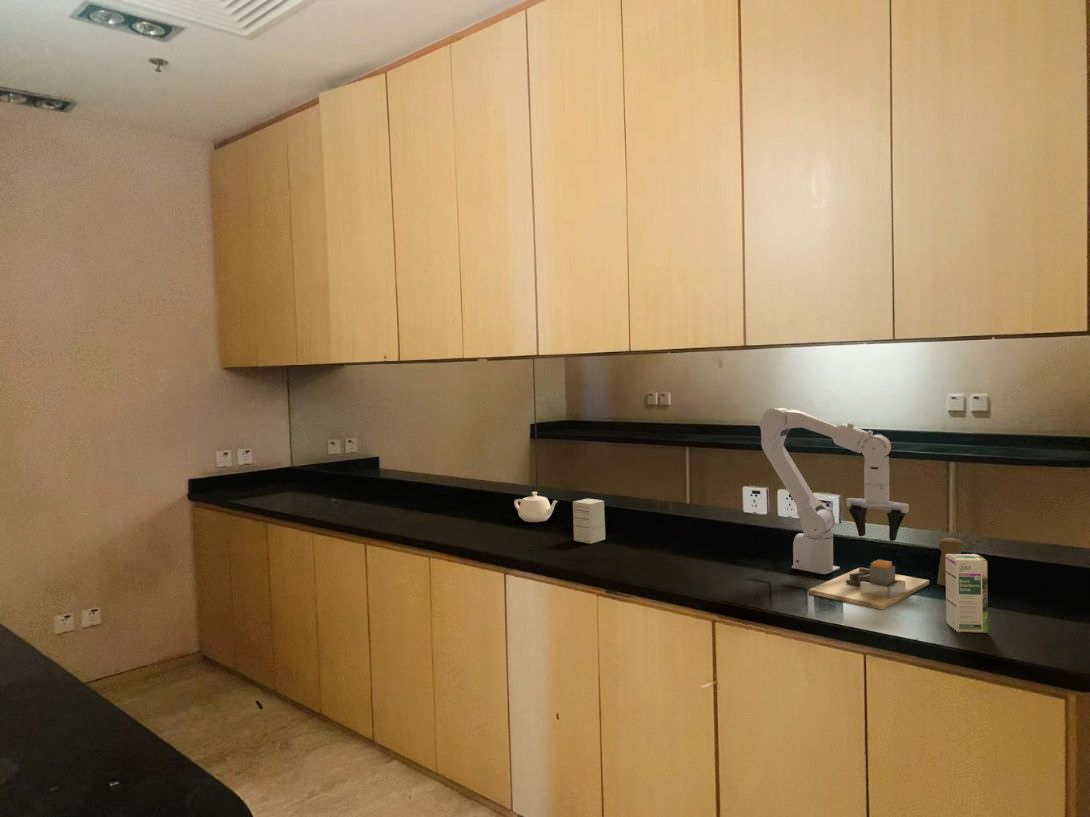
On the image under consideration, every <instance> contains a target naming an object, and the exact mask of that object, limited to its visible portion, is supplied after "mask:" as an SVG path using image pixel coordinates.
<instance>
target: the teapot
mask: <svg viewBox="0 0 1090 817" xmlns="http://www.w3.org/2000/svg"><path fill="white" fill-rule="evenodd" d="M531 494H532V495H530V496H527V497H523V498H522V499H521V498H518V499H514V502H513V503H514V506H515V509H516V510H517V511H518V512H517V514H518V516H519V518H520V519H522V520H523V521H524V522H528V523H538V522H539V523H540V522H546V521H548V519H549V518H550V517H551V516H552V514H553V511H554V509H555V505H556V504H557V503H558V500H553V501H552V503H551V504H550V501H549V499H548V498H547V497H546V496H541V495H537V494H538V492H537V491H531Z"/></svg>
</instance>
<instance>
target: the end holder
mask: <svg viewBox="0 0 1090 817" xmlns="http://www.w3.org/2000/svg"><path fill="white" fill-rule="evenodd" d="M905 592H906V581H901V580H896V579H895V584H893V585H891V586H884V585H879V584H874V583H868V582H863V581H862V582H860V593H863V594H867V595H872V596H877V597H882V598H887V599H893V598H895V597H897V596H899V595H901V594H903V593H905Z"/></svg>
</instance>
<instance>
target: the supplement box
mask: <svg viewBox="0 0 1090 817" xmlns="http://www.w3.org/2000/svg"><path fill="white" fill-rule="evenodd" d="M572 514H573V515H572V516H573V520H572V521H573V541H575V542H580V543H585V544H594V543H598V542H601V541H604V540H606V521H605V520H606V519H605V518H606V517H605V515H606V514H605V500H601V499H594V498H584V499H579V500H575V501H572Z"/></svg>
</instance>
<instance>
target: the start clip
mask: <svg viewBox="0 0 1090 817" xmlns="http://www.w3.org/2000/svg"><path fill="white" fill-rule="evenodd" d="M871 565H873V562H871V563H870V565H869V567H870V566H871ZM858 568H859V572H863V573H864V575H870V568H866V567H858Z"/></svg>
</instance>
